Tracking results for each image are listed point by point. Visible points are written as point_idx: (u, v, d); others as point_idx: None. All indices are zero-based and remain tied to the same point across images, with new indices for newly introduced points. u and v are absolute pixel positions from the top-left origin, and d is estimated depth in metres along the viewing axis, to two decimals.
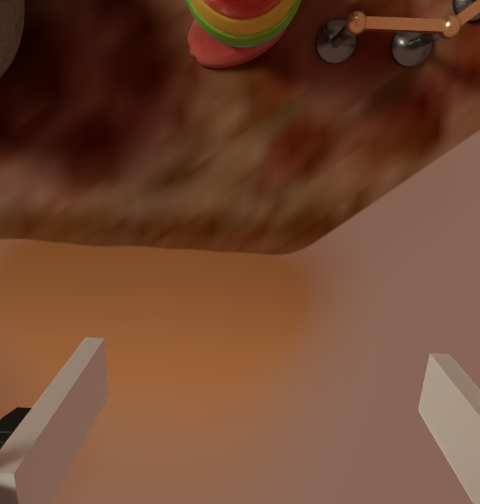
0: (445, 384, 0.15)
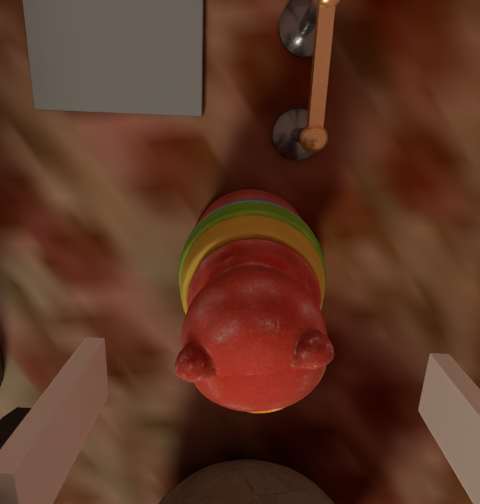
0: (445, 384, 0.15)
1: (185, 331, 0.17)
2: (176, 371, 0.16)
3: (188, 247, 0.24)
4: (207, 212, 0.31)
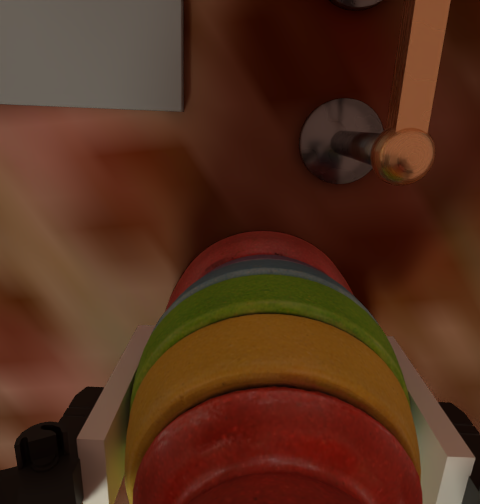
0: None
1: None
2: None
3: (144, 367, 0.12)
4: (192, 269, 0.19)
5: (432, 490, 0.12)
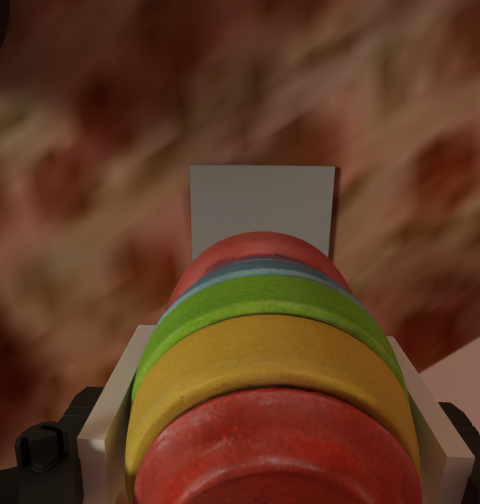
0: None
1: None
2: None
3: (144, 367, 0.12)
4: (192, 269, 0.19)
5: (432, 490, 0.12)
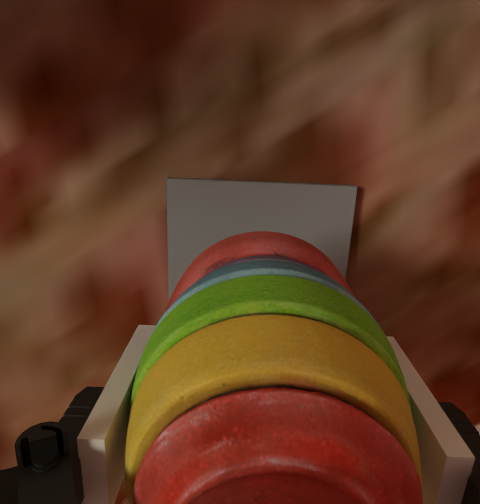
0: None
1: None
2: None
3: (145, 368, 0.12)
4: (192, 269, 0.19)
5: (432, 490, 0.12)
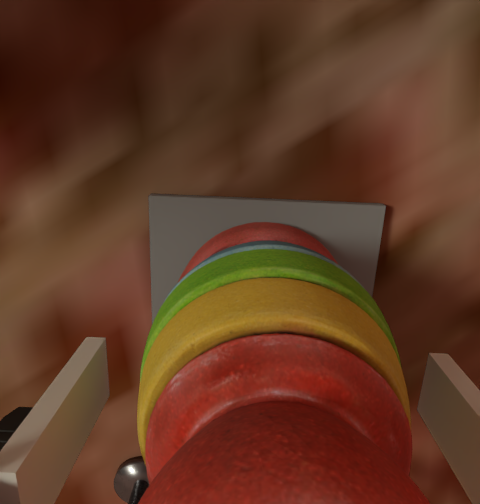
0: (444, 384, 0.15)
1: None
2: None
3: (156, 330, 0.13)
4: (198, 256, 0.20)
5: None
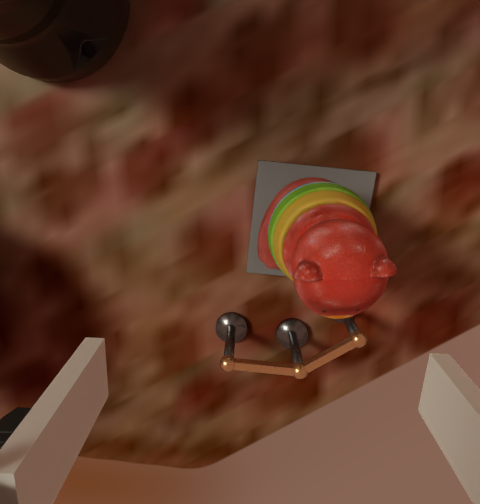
0: (445, 384, 0.15)
1: (298, 254, 0.27)
2: (296, 276, 0.26)
3: (281, 211, 0.34)
4: (282, 192, 0.40)
5: None
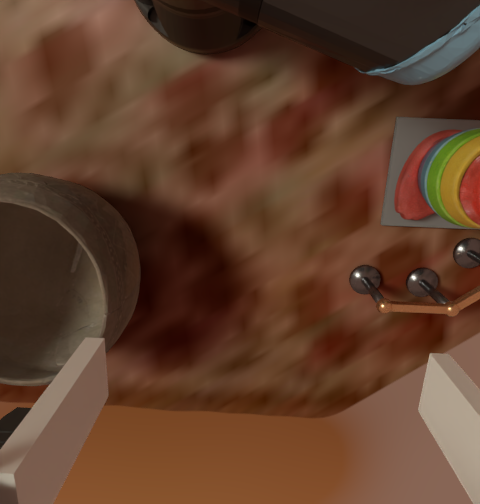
0: (445, 384, 0.15)
1: None
2: None
3: (448, 155, 0.37)
4: (423, 145, 0.43)
5: None
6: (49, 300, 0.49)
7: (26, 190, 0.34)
